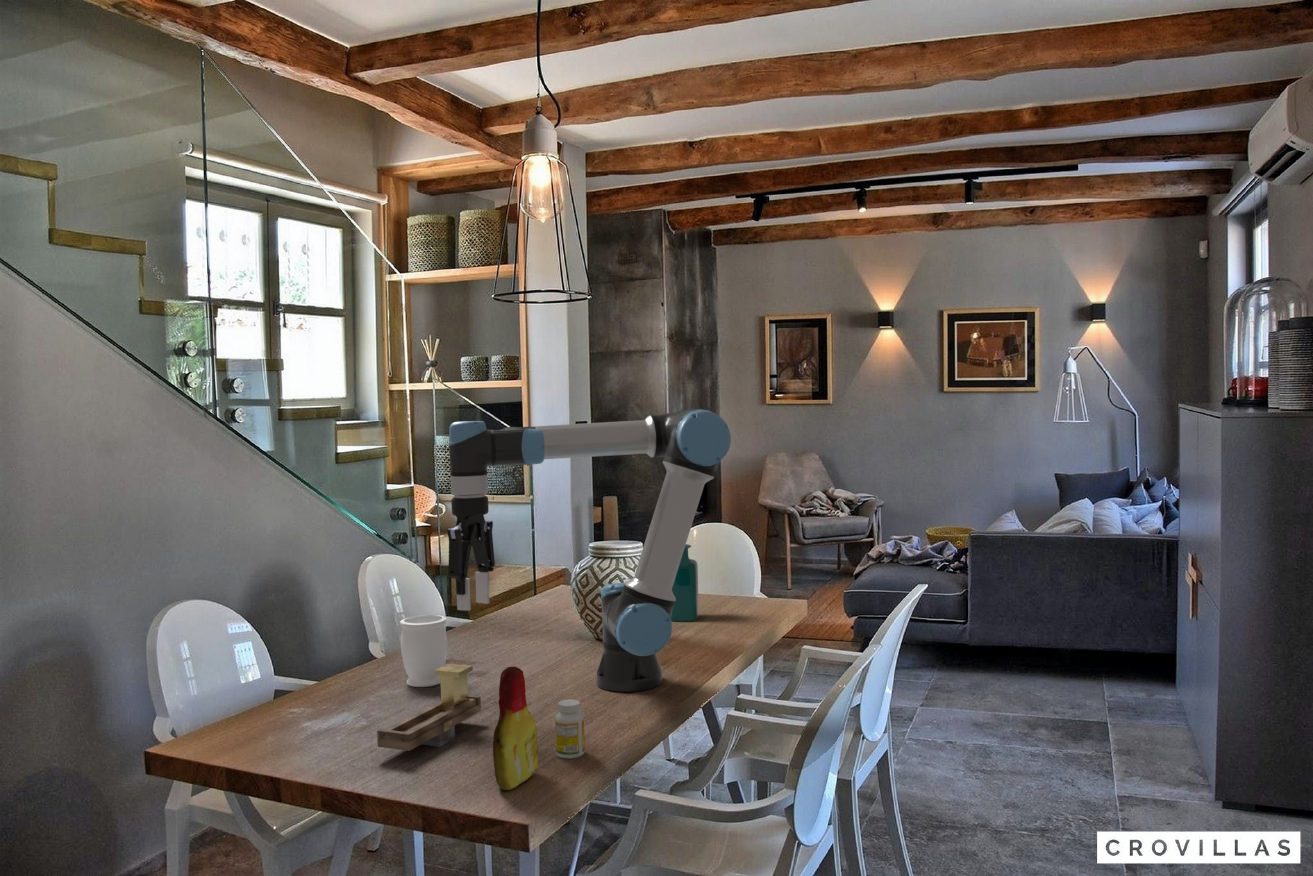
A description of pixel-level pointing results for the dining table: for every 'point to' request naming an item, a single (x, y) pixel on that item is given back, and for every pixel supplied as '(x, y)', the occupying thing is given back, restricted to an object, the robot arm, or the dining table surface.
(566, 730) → the supplement bottle
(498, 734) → the bottle
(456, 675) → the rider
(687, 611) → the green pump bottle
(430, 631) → the jar
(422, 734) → the brown long rectangular frame
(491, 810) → the dining table surface
